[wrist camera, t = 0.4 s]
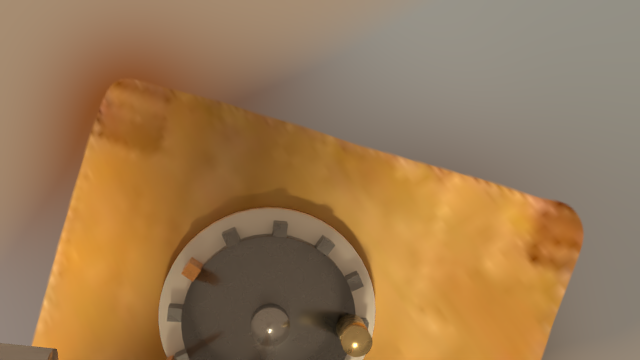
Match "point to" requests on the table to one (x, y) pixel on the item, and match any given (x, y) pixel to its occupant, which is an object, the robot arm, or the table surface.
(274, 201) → the table surface
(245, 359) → the sprocket
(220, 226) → the sprocket base
